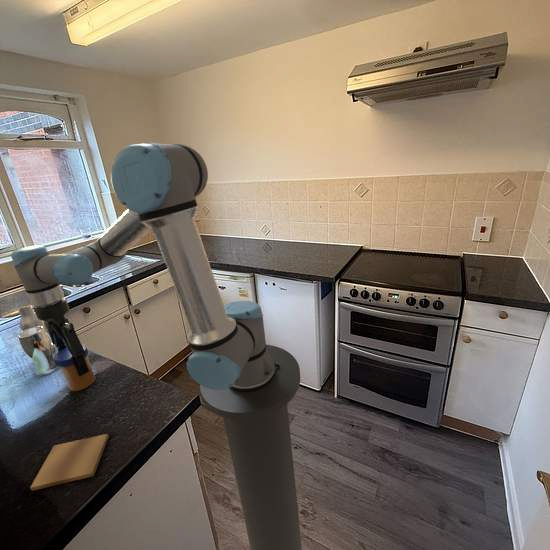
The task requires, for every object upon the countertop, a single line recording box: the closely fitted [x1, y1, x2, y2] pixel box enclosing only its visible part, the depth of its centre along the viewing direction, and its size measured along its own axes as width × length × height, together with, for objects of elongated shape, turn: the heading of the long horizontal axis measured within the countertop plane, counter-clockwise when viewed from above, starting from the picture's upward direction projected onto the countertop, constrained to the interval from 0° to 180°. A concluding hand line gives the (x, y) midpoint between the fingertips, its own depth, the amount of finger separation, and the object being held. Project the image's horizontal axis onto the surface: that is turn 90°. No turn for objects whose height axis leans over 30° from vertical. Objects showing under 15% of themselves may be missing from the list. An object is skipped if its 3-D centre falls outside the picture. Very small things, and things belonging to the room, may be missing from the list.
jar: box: [59, 355, 97, 392], centre depth 90 cm, size 7×7×11 cm
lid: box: [53, 343, 89, 368], centre depth 88 cm, size 8×8×2 cm
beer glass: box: [17, 326, 59, 377], centre depth 97 cm, size 7×7×15 cm
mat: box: [29, 433, 110, 491], centre depth 67 cm, size 12×10×1 cm
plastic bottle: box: [18, 305, 57, 357], centre depth 103 cm, size 6×7×20 cm
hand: (76, 368), depth 90 cm, fingers open, 8 cm apart
